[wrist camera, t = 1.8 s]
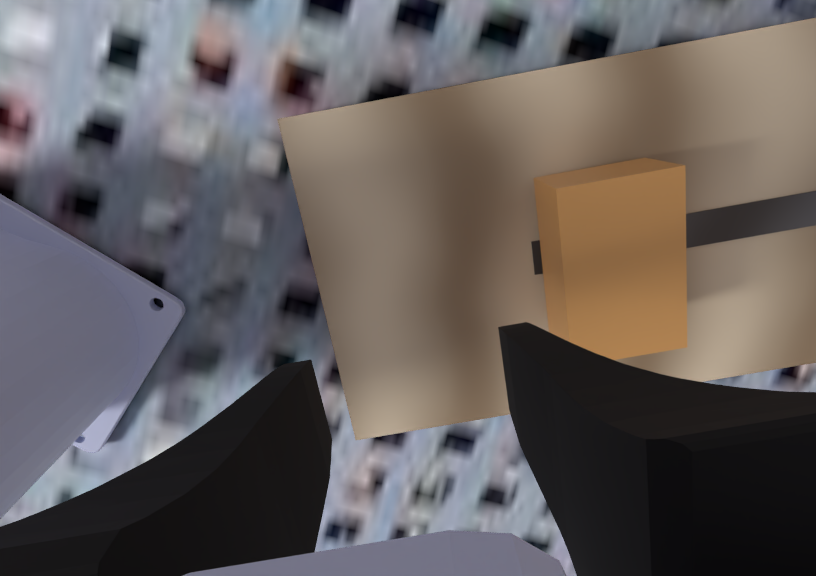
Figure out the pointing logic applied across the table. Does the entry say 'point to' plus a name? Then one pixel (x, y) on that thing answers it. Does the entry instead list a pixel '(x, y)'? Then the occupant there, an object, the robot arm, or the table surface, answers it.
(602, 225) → the fader knob
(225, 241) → the table surface
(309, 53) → the table surface
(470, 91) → the fader panel
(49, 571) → the robot arm
